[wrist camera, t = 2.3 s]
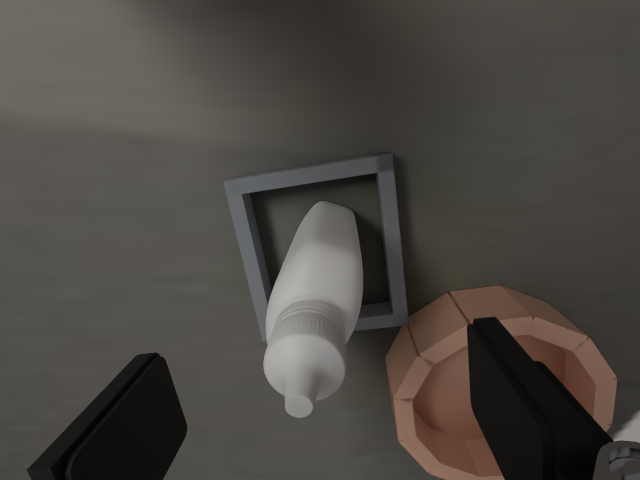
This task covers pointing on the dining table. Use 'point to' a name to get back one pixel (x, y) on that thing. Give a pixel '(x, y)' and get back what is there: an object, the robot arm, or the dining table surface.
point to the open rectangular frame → (343, 168)
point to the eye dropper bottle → (314, 308)
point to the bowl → (453, 375)
